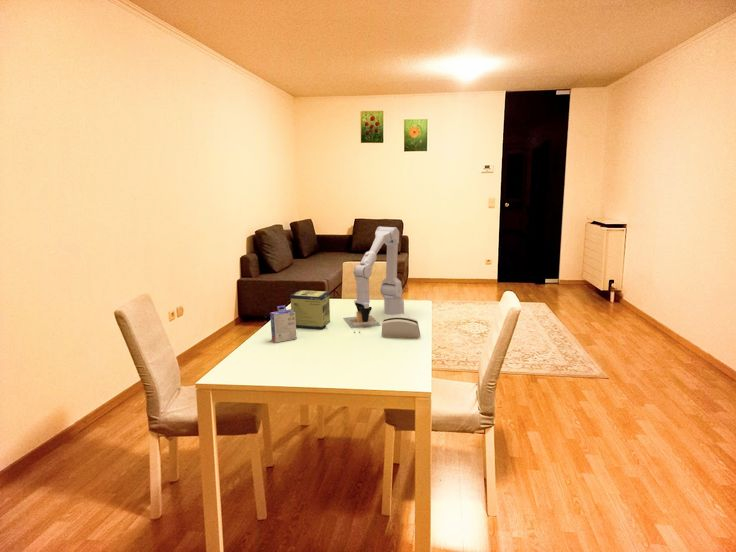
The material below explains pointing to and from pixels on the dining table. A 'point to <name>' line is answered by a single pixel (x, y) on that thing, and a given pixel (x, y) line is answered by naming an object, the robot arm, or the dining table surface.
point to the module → (359, 316)
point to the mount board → (356, 318)
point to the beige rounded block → (400, 327)
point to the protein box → (311, 309)
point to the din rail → (358, 324)
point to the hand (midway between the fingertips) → (363, 319)
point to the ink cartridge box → (283, 324)
